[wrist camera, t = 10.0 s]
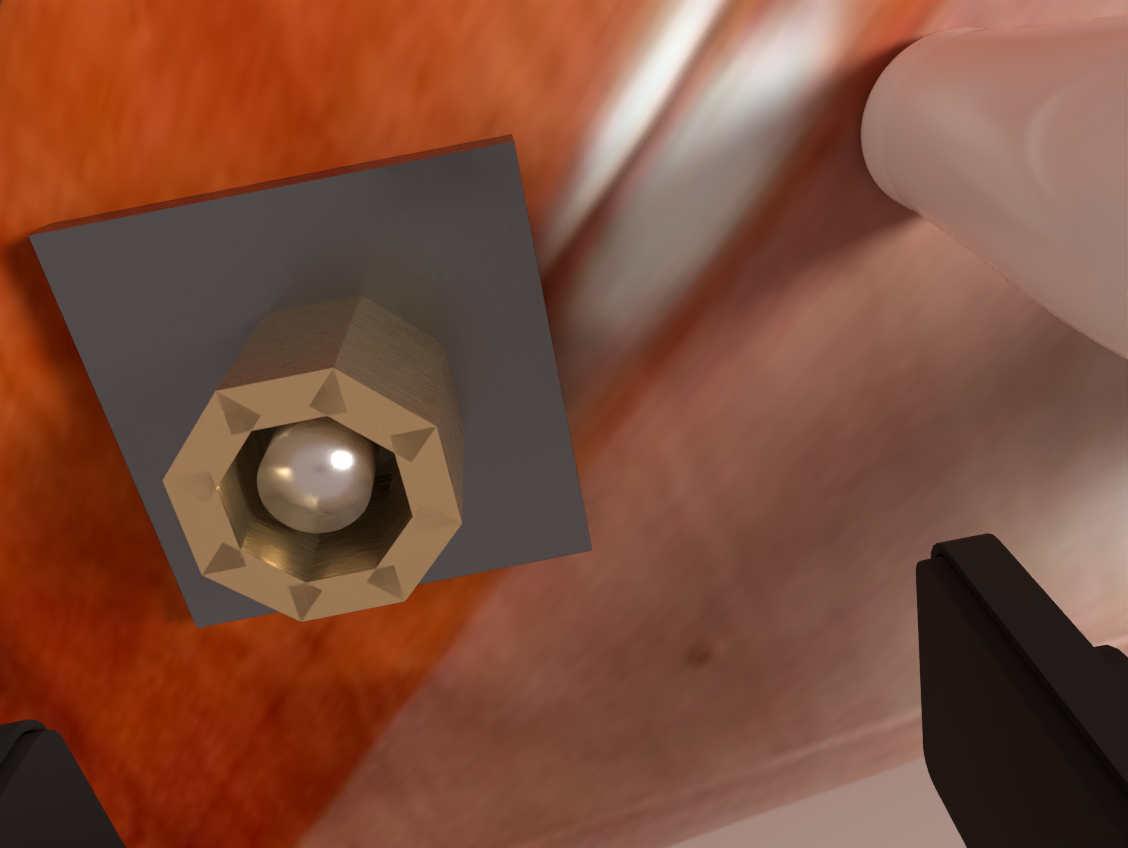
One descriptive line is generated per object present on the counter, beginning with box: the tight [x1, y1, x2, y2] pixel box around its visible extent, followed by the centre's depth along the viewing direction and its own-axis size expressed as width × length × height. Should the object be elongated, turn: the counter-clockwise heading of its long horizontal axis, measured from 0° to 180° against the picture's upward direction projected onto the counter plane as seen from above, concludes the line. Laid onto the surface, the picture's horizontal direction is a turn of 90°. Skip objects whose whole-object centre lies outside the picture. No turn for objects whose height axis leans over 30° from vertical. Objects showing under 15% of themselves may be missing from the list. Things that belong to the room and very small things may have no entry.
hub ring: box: [162, 295, 464, 622], centre depth 27 cm, size 7×7×6 cm
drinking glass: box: [861, 14, 1128, 360], centre depth 22 cm, size 7×7×15 cm
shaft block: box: [29, 134, 592, 628], centre depth 28 cm, size 14×14×6 cm
